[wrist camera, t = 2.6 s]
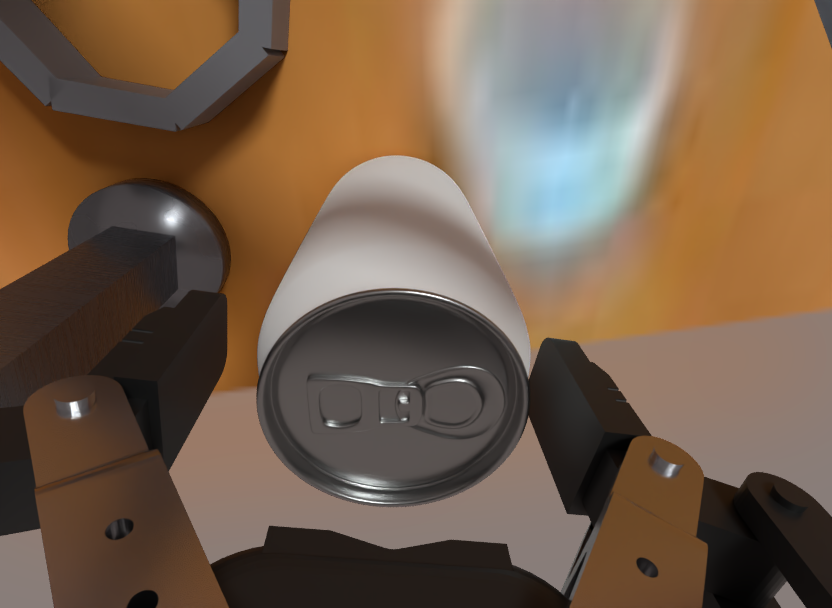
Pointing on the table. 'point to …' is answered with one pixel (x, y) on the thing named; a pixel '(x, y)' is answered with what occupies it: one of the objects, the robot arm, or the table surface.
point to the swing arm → (826, 16)
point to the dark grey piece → (106, 282)
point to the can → (394, 344)
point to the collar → (130, 102)
